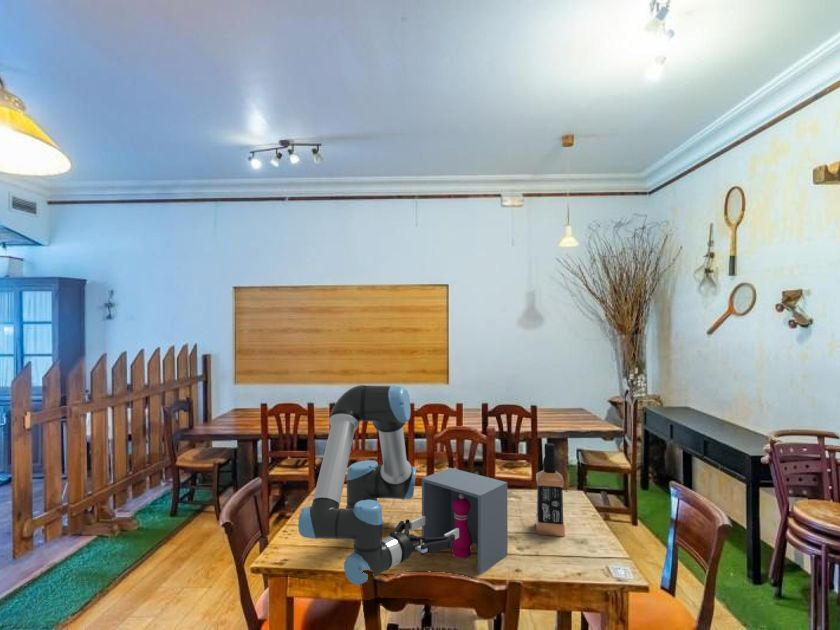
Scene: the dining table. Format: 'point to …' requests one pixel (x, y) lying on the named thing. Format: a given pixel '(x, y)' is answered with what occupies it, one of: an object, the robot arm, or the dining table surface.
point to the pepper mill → (462, 528)
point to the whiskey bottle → (549, 496)
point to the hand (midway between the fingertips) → (440, 526)
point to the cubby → (483, 514)
